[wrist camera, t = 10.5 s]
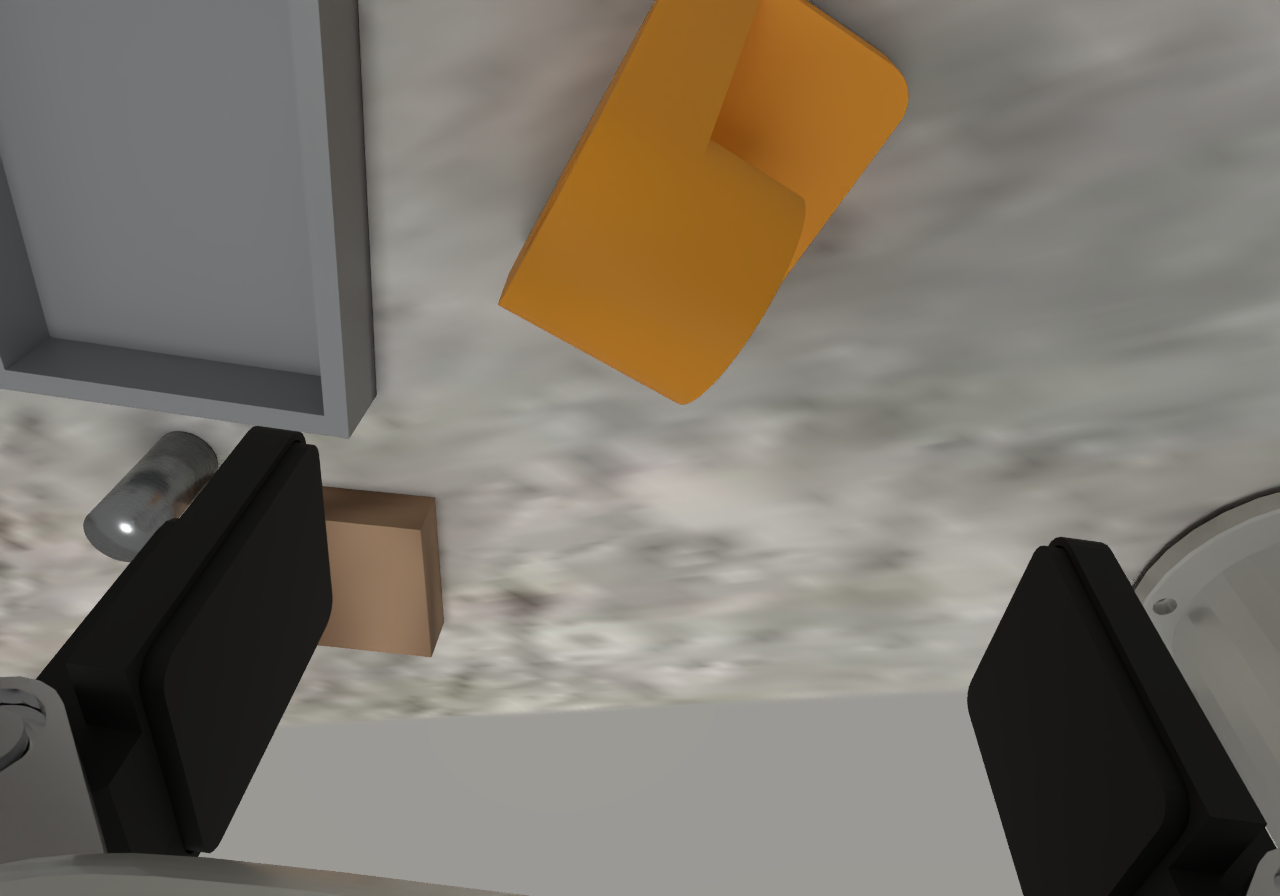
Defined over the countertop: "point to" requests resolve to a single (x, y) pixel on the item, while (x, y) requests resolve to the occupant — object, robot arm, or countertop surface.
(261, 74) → the tray
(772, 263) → the bracket
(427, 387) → the countertop surface
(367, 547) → the tan slab
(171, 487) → the peg
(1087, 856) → the robot arm
